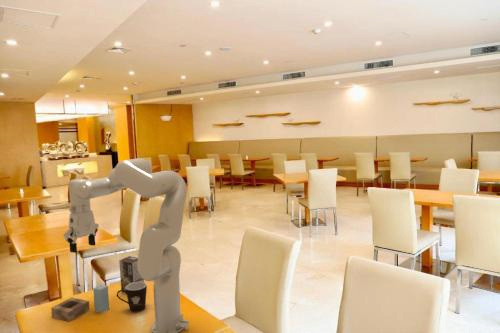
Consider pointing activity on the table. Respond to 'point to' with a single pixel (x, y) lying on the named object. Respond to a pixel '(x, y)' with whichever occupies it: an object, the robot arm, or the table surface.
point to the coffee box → (129, 272)
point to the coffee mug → (135, 296)
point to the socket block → (70, 309)
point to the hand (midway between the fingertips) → (83, 248)
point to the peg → (101, 298)
